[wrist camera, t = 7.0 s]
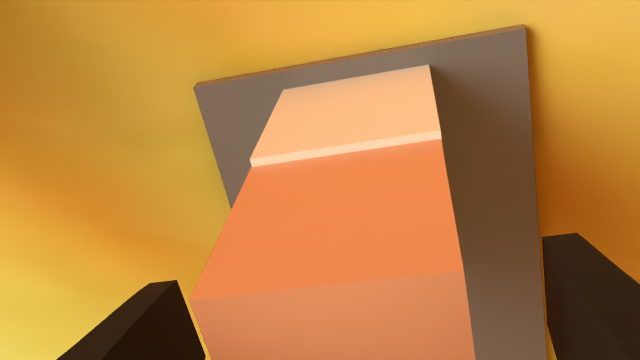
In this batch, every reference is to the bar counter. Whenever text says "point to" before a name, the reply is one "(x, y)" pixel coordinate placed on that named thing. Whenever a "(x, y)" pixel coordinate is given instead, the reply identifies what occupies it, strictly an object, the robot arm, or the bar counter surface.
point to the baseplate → (460, 159)
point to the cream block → (350, 116)
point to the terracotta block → (339, 262)
